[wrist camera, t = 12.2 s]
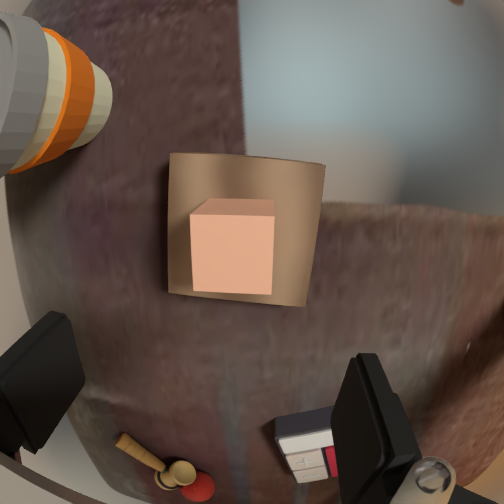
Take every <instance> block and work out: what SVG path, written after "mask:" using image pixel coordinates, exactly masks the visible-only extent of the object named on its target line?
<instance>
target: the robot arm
mask: <svg viewBox="0 0 504 504" xmlns="http://www.w3.org/2000/svg"><path fill="white" fill-rule="evenodd" d="M84 383H85V376H84V372H83V369H82V365H81V362H80V358H79V354H78V351H77V347H76V343H75V339H74V335H73V330H72V326H71V322H70V320H69V319H68V318H67V316H66V315H65V314H62V313H58V312H54V311H50V312H49V313H47V314H46V315H45V316H44V317H43V318H42V319H41V320H39V321H38V322H37V323H36V324H35V325H34V326H33V327H32V328H31V329H29V330H28V331H27V332H26V333H25V334H24V335H23V336H22V337H21V338H20V339H19V340H18V341H17V342H15V343H14V344H13V345H12V346H11V347H10V348H9V349H8V350H7V351H6V352H5V353H4V354H3V355H2V356H1V357H0V504H106V503H103V502H100V501H98V500H95V499H93V498H90V497H88V496H85V495H83V494H81V493H78V492H76V491H73V490H71V489H69V488H67V487H65V486H62V485H60V484H58V483H56V482H54V481H52V480H50V479H48V478H46V477H44V476H42V475H40V474H38V473H36V472H34V471H33V470H31V469H29V468H27V467H25V466H24V465H22V462H21V456H20V451H19V449H20V447H21V446H23V448H24V449H26V450H28V451H29V452H31V453H33V454H36V452H37V451H38V449H41V448H42V447H43V446H44V445H45V443H46V442H47V440H48V439H49V437H50V436H51V434H52V433H53V431H54V429H55V428H56V426H57V425H58V423H59V422H60V420H61V419H62V417H63V416H64V414H65V413H66V411H67V410H68V408H69V407H70V405H71V404H72V402H73V401H74V399H75V398H76V396H77V395H78V393H79V392H80V390H81V389H82V388H83V386H84ZM330 424H331V431H332V437H333V444H334V450H335V457H336V464H337V471H338V478H339V486H340V493H341V501H342V504H498V503H496V502H494V501H492V500H490V499H487V498H485V497H482V496H480V495H478V494H476V493H474V492H471V491H469V490H467V489H465V488H463V487H461V486H459V485H457V484H455V483H456V475H455V472H454V470H453V468H452V466H451V465H450V464H449V463H448V462H446V461H445V460H443V459H441V458H437V457H425V458H422V455H421V452H420V450H419V447H418V444H417V442H416V439H415V436H414V434H413V431H412V428H411V426H410V423H409V421H408V418H407V416H406V413H405V411H404V408H403V406H402V404H401V401H400V399H399V397H398V395H397V394H396V393H393V392H392V389H391V387H390V384H389V382H388V380H387V377H386V375H385V372H384V370H383V368H382V365H381V363H380V361H379V358H378V356H377V355H376V354H375V353H359V354H357V356H356V358H351V360H350V362H349V365H348V368H347V371H346V374H345V377H344V380H343V383H342V386H341V389H340V392H339V395H338V397H337V400H336V403H335V405H334V408H333V411H332V414H331V418H330Z"/></svg>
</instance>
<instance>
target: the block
mask: <svg viewBox="0 0 504 504" xmlns="http://www.w3.org/2000/svg"><path fill="white" fill-rule="evenodd" d="M274 219H275V213H274V200H266V199H221V198H209V199H208V200H207V201H206V202H204V203H203V204H202V205H201V206H199V207H198V208H197V209H196V210H195V211H193V212H192V213H191V214H190V234H191V256H192V274H193V290H194V291H204V292H222V293H243V294H267V295H271V293H272V271H273V247H274Z"/></svg>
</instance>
